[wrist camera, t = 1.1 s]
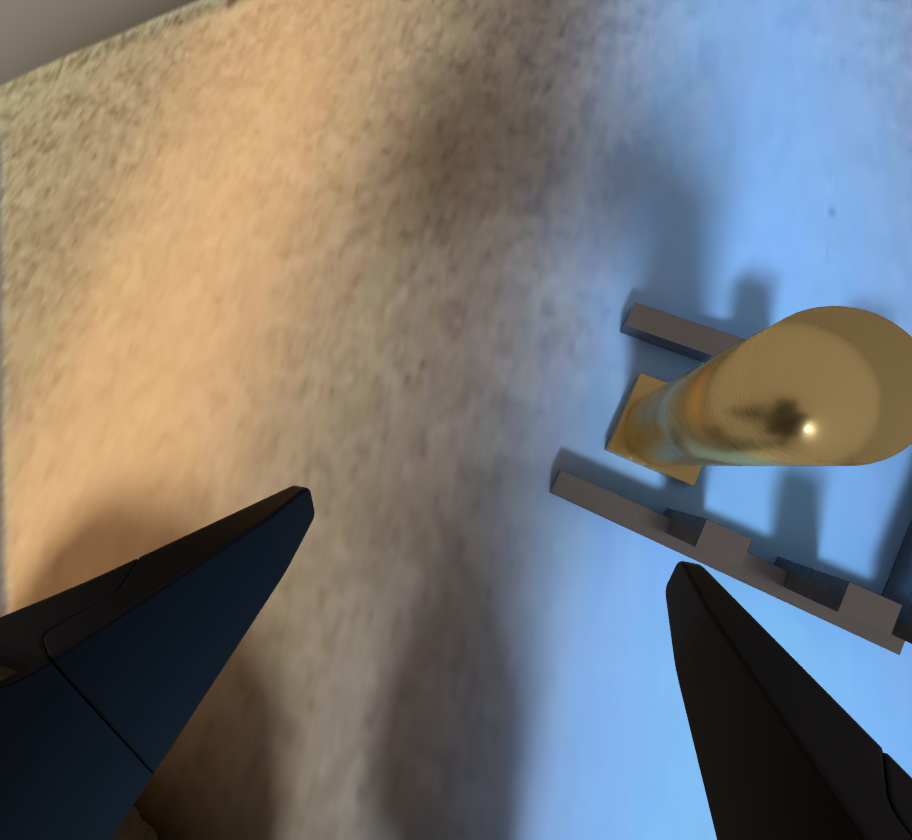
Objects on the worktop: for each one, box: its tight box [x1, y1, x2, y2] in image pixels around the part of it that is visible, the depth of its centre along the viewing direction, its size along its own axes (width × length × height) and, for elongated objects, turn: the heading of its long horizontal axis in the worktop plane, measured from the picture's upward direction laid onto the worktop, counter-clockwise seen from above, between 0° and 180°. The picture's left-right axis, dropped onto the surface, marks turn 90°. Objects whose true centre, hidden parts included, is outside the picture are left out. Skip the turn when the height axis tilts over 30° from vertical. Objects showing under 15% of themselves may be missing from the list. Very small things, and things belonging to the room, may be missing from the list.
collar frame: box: [550, 303, 912, 655], centre depth 19 cm, size 16×18×4 cm
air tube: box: [605, 306, 912, 486], centre depth 16 cm, size 5×5×12 cm
